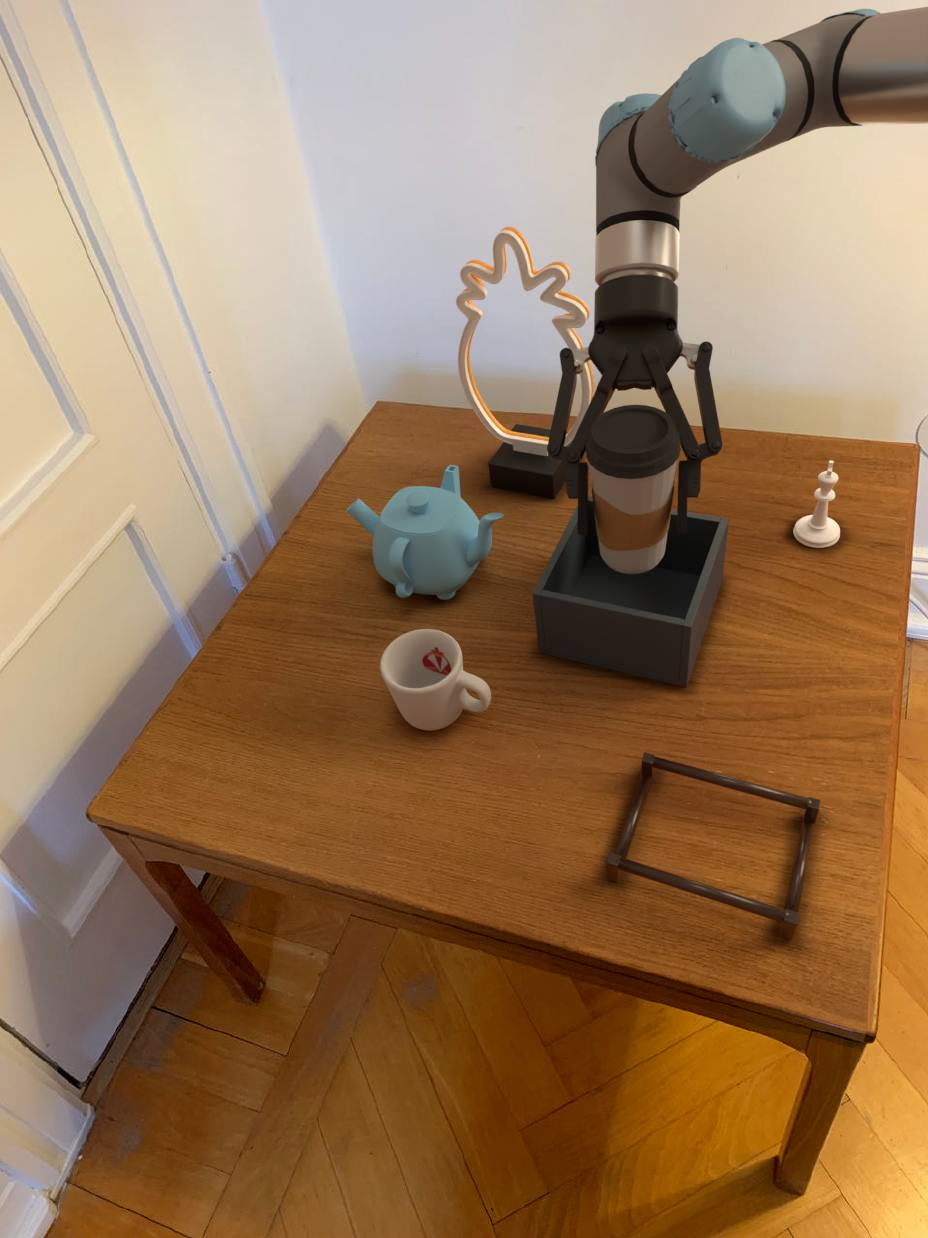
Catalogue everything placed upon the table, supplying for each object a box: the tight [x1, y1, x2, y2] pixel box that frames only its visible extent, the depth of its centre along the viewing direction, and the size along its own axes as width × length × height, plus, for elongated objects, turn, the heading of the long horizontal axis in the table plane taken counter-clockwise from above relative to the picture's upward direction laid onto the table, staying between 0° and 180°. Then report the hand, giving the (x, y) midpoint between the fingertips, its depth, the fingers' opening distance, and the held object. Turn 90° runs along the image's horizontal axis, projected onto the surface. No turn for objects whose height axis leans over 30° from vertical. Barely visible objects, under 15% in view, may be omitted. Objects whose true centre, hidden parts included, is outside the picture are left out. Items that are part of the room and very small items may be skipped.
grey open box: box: [531, 495, 730, 688], centre depth 89 cm, size 16×16×9 cm
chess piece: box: [792, 459, 841, 549], centre depth 93 cm, size 5×5×10 cm
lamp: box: [455, 226, 595, 500], centre depth 100 cm, size 17×9×32 cm, turn 64°
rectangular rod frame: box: [605, 751, 822, 941], centre depth 72 cm, size 15×11×3 cm
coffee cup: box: [585, 404, 682, 574], centre depth 80 cm, size 8×8×15 cm
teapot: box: [346, 464, 504, 601], centre depth 97 cm, size 15×14×11 cm
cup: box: [379, 628, 492, 732], centre depth 84 cm, size 11×8×8 cm
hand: (631, 533), depth 79 cm, fingers closed on coffee cup, 8 cm apart
